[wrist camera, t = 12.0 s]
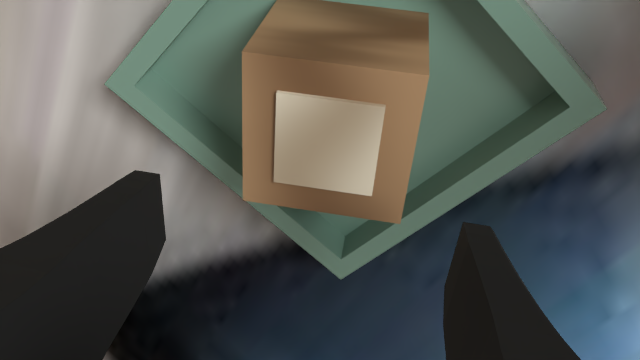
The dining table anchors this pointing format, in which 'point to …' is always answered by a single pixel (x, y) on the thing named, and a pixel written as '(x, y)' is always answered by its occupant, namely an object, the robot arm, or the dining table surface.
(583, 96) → the green tray
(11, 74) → the dining table surface
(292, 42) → the brown cardboard box
